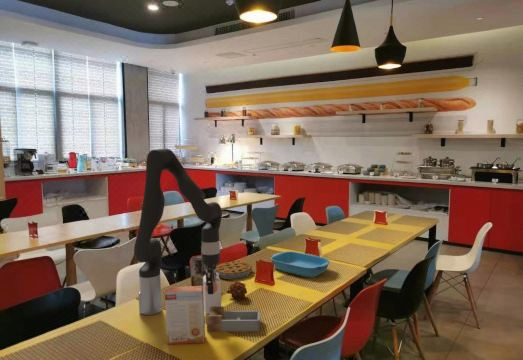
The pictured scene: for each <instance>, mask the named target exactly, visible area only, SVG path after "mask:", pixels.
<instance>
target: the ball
mask: <svg viewBox="0 0 523 360" xmlns="http://www.w3.org/2000/svg"><path fill="white" fill-rule="evenodd" d="M209 283H211V282H209ZM217 289H218V286H217V284H216V283H215V282H214V285H213V294H214V293H215V292H216V291H217ZM206 291H207V292H208V286H206Z"/></svg>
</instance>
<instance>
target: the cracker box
mask: <svg viewBox="0 0 523 360" xmlns="http://www.w3.org/2000/svg"><path fill="white" fill-rule="evenodd" d="M164 301H165V324H166V325H165V326H166V344H167V345H178V344H179V345H180V344H181V345H182V344H183V345H184V344H201V343H202V344H203V343H204V342H205V337H206V329H205V328H206V325H205V323H206V321H205V310H204V296H203V286H191V285H190V286H168V287H166V290H165V292H164Z"/></svg>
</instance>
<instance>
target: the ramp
mask: <svg viewBox="0 0 523 360" xmlns="http://www.w3.org/2000/svg"><path fill="white" fill-rule="evenodd" d="M224 311H225V306H222V305H221V306H218V307H210V314H206V332H223V331H222V320H225V319H226V317H224Z"/></svg>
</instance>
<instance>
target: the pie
mask: <svg viewBox="0 0 523 360" xmlns="http://www.w3.org/2000/svg"><path fill="white" fill-rule="evenodd" d="M216 267H217V269H216V272H217V273H218V274H219V275H218V276H220V277H219V278H220V279H224V278H225V279H224V280H236V279H235V278H238V279H242V277H243V278H245V276H246V277H248V276H249V275H250V273H251V272H252V270H253V266H252V265H251V264H250V263H249V262H246V261H240V260H237V261H234V260H231V261H229V262H228V261H224V262H223V263H220V262H219V263H218V264H216ZM247 275H248V276H247Z"/></svg>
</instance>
